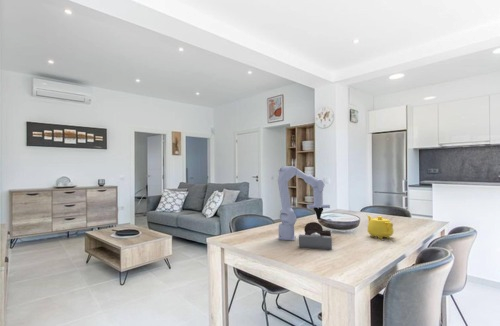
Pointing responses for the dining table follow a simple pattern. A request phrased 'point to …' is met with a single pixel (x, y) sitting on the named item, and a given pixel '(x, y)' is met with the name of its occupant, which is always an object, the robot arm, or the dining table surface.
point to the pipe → (315, 229)
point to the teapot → (380, 227)
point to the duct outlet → (315, 241)
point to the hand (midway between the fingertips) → (318, 219)
